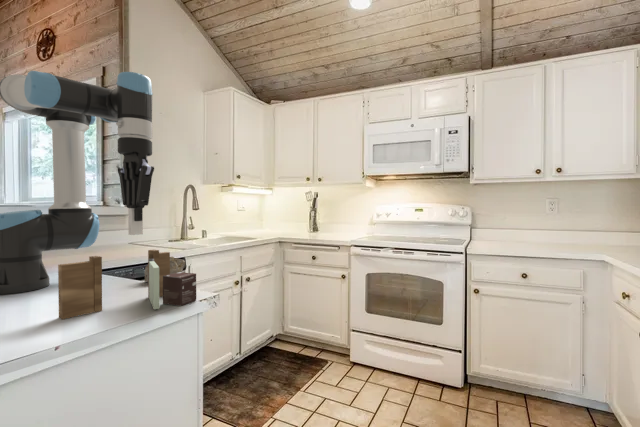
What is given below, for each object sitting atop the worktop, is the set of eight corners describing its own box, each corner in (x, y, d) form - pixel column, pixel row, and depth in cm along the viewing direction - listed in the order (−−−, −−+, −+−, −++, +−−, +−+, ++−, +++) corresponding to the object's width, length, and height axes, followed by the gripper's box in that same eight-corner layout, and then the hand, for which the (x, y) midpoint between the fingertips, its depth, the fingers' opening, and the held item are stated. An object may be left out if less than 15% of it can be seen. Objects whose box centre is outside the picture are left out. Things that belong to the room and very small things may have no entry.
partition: (58, 317, 77) (57, 260, 77) (165, 293, 99) (165, 248, 99) (63, 319, 76) (62, 261, 76) (170, 294, 98) (170, 249, 97)
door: (148, 299, 92) (148, 258, 92) (153, 298, 93) (153, 258, 93) (153, 311, 82) (153, 265, 82) (159, 310, 83) (159, 265, 83)
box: (180, 306, 86) (180, 277, 86) (161, 304, 89) (161, 275, 88) (197, 300, 92) (197, 273, 92) (179, 298, 94) (179, 271, 94)
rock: (144, 281, 108) (154, 250, 111) (139, 281, 113) (149, 251, 116) (182, 288, 115) (191, 259, 118) (176, 287, 120) (184, 259, 123)
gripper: (106, 138, 85) (106, 233, 86) (133, 133, 78) (133, 237, 78) (136, 143, 91) (136, 232, 92) (164, 138, 84) (164, 235, 85)
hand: (135, 234), depth 85 cm, fingers closed
